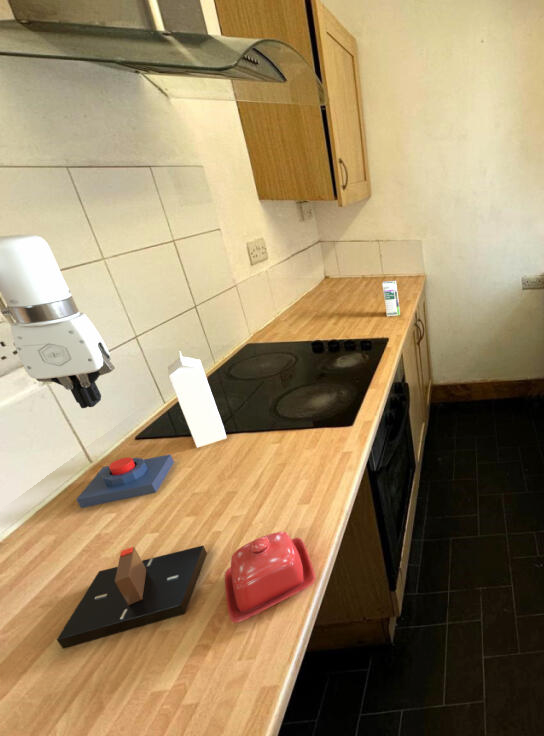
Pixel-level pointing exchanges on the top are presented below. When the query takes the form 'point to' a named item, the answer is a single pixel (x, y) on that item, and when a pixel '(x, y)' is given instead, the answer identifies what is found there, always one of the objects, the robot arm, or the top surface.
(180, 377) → the milk
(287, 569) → the butter dish
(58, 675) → the top surface
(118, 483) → the button box
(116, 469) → the button
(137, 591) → the dial knob
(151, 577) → the panel
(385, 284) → the syrup box
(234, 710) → the top surface
